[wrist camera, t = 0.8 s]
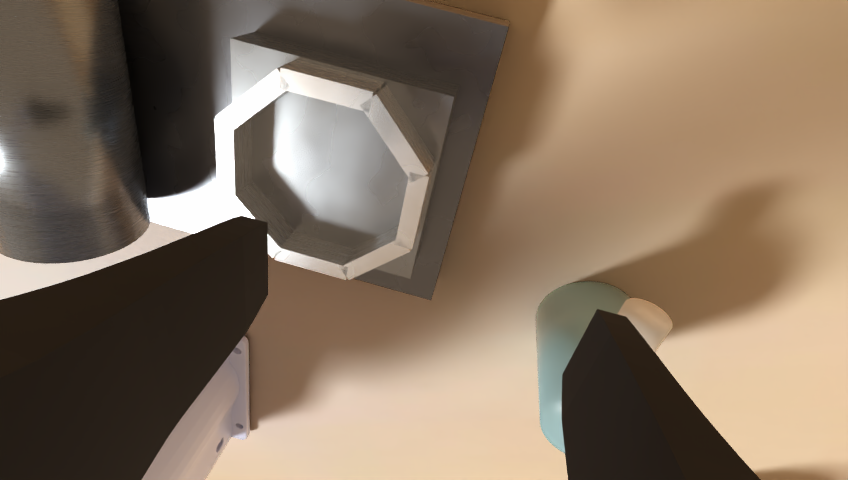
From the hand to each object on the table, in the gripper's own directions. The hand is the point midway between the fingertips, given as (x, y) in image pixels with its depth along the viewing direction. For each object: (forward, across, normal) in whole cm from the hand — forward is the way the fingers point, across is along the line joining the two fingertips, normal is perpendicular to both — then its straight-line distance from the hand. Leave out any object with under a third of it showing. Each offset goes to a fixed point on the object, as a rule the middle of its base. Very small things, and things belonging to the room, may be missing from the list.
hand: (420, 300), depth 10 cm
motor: (+9, +9, +1) cm, 13 cm away
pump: (+9, -7, +6) cm, 13 cm away
